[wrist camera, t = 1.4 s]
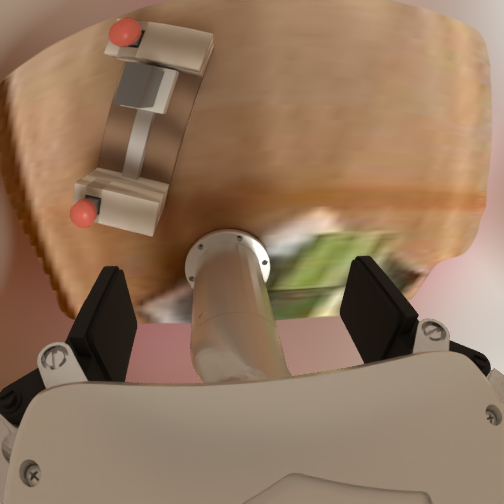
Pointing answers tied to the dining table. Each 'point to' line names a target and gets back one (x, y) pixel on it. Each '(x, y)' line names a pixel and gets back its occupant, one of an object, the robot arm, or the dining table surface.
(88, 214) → the red knob cap
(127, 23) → the red rounded knob
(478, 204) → the dining table surface
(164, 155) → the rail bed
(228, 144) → the dining table surface
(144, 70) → the carriage
